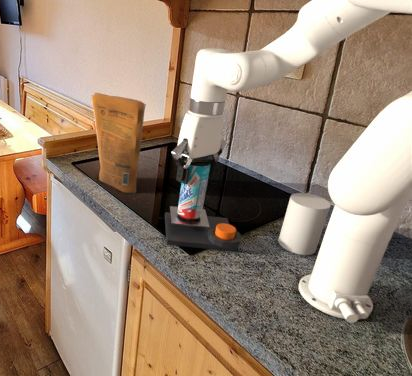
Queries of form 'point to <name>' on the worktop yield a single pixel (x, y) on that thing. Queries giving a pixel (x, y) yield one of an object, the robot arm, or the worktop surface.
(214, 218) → the scale
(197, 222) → the weighing pan
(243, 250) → the worktop surface
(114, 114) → the pancake mix bag
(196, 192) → the beverage can
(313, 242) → the cup
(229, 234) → the button
